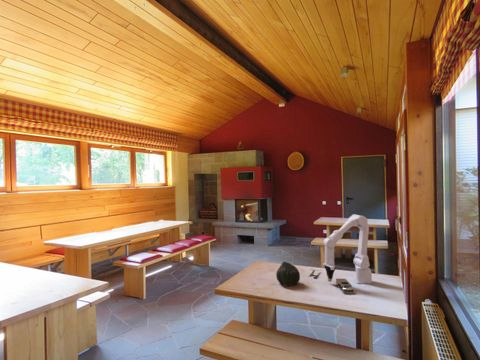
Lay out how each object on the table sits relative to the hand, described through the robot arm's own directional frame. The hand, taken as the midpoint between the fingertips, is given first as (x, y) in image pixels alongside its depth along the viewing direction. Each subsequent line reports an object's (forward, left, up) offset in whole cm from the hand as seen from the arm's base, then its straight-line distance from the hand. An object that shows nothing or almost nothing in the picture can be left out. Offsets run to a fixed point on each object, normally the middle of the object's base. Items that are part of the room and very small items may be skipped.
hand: (329, 277), depth 193 cm
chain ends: (-7, +9, -4) cm, 12 cm away
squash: (+27, 0, -4) cm, 27 cm away
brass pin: (0, 0, -2) cm, 2 cm away
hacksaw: (+6, -23, -5) cm, 24 cm away
